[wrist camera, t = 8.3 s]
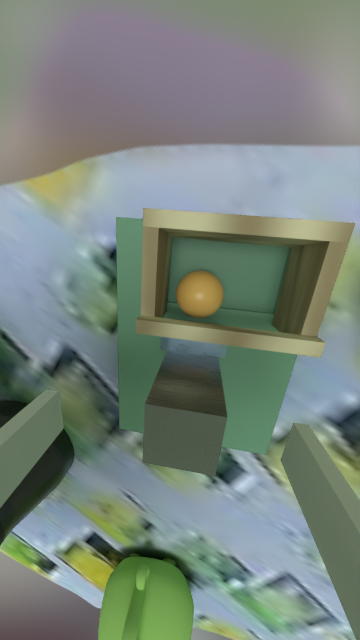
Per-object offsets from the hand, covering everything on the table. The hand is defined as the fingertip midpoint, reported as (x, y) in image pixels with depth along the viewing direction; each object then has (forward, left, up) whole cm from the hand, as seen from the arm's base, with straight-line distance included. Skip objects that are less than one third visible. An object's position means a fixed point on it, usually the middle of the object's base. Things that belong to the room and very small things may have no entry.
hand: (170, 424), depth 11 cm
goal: (+3, +8, -10) cm, 13 cm away
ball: (+1, +6, -8) cm, 10 cm away
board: (+2, 0, -10) cm, 10 cm away
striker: (+1, +1, -9) cm, 9 cm away
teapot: (-1, -47, -11) cm, 48 cm away
